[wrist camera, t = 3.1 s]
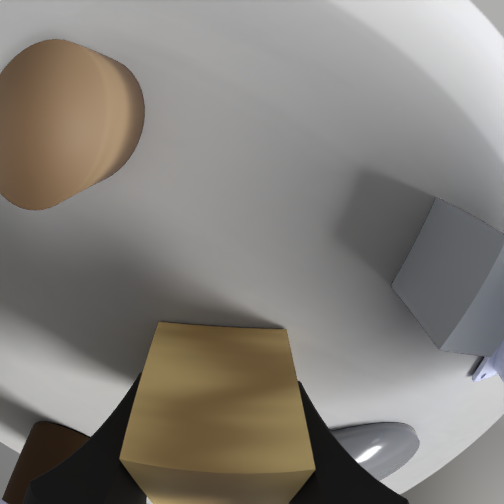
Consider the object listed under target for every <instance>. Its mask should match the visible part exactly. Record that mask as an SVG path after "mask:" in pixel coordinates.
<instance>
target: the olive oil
mask: <svg viewBox="0 0 504 504" xmlns="http://www.w3.org/2000/svg"><path fill="white" fill-rule="evenodd" d="M88 439H89V437H87V436H84V435H82V434H80V433H78V432H76V431H73V430H71V429H68V428H66V427H63V426H60V425H57V424H53V423H49V422H38V423H36V424H35V425H34V426H33V428H32V430H31V432H30V434H29V436H28V438H27V440H26V443H25V445H24V447H23V449H22V452H21V454H20V456H19V459H18V461H17V463H16V466H15V469H14V471H13V473H12V475H11V478H10V480H9V483H8V485H7V488H6V490H5V493H4V496H3V498H2V500H3V501H5V502H6V503H8V504H23V500H24V497H25V493H26V490H27V487H28V485H29V483H30V481H31V480H33V479H35V478H36V477H38V476H40V475H42V474H44V473H45V472H47V471H49V470H50V469H52V468H54V467H55V466H56V465H58V464H59V463H61V462H62V461H64V460H65V459H66V458H68V457H69V456H70V455H72V454H73V453H74V452H75V451H76V450H77V449H79V448H80V447H81V446H82V445H83V444H84V443H85V442H86V441H87V440H88Z"/></svg>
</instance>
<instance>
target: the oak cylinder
mask: <svg viewBox="0 0 504 504" xmlns="http://www.w3.org/2000/svg"><path fill="white" fill-rule="evenodd" d="M144 116H145V106H144V98H143V94H142V90H141V88H140V85H139V83H138V81H137V79H136V78H135V76H134V75H133V73H132V72H131V71H130V70H129V69H128V68H127V67H126V66H124V65H123V64H121V63H120V62H118V61H116V60H114V59H111V58H109V57H107V56H104V55H102V54H100V53H97V52H95V51H92V50H90V49H88V48H85V47H82V46H80V45H77V44H75V43H72V42H69V41H66V40H59V39H53V40H45V41H42V42H38V43H36V44H34V45H31V46H30V47H28V48H26V49H25V50H23V51H22V52H21V53H19V54H18V55H17V56H16V57H15V58H14V59H13V60H12V61H11V62H10V63H9V64H8V65H7V66H6V67H5V69H4V70H3V71H2V73H1V74H0V193H1V195H2V196H3V197H5V198H6V199H7V200H8V201H9V202H11V203H12V204H14V205H16V206H18V207H20V208H24V209H27V210H43V209H47V208H51V207H53V206H55V205H57V204H59V203H61V202H63V201H64V200H66V199H68V198H70V197H71V196H73V195H75V194H77V193H79V192H81V191H83V190H85V189H86V188H88V187H90V186H92V185H94V184H96V183H98V182H100V181H102V180H104V179H106V178H108V177H109V176H111V175H113V174H114V173H115V172H117V171H118V170H119V169H120V168H121V167H122V166H123V165H124V164H125V163H126V162H127V160H128V159H129V158H130V156H131V155H132V153H133V152H134V150H135V148H136V146H137V144H138V142H139V139H140V136H141V133H142V129H143V124H144Z"/></svg>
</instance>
